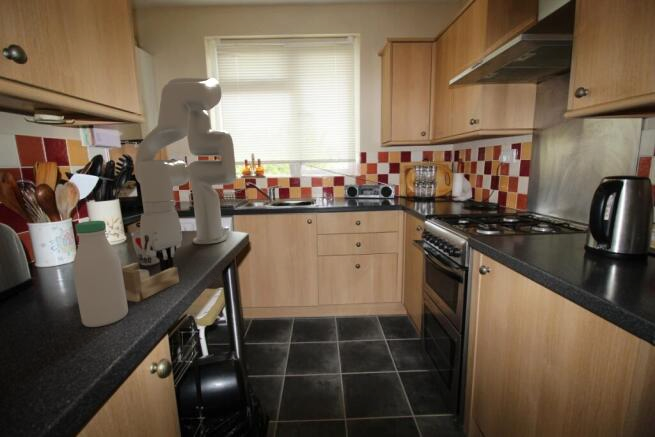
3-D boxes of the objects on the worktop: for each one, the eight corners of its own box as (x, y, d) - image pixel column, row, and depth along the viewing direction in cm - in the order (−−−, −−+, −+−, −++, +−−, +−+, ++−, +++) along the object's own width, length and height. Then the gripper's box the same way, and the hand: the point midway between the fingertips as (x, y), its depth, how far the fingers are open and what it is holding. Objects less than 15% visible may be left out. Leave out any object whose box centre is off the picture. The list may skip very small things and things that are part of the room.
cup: (130, 264, 97) (125, 233, 95) (154, 257, 104) (150, 228, 102) (146, 268, 93) (141, 236, 91) (170, 260, 100) (166, 230, 98)
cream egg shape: (135, 283, 82) (133, 268, 81) (157, 285, 80) (155, 270, 79) (111, 294, 75) (108, 278, 75) (134, 296, 73) (131, 280, 73)
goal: (136, 276, 87) (133, 252, 85) (179, 281, 82) (176, 256, 80) (91, 294, 75) (86, 266, 74) (137, 302, 70) (133, 272, 69)
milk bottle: (132, 317, 63) (118, 221, 59) (85, 333, 58) (66, 228, 54) (123, 305, 69) (110, 217, 65) (80, 318, 63) (62, 222, 60)
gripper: (170, 203, 92) (177, 262, 96) (123, 211, 78) (133, 279, 82) (190, 203, 90) (197, 264, 93) (145, 212, 76) (155, 283, 79)
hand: (167, 271), depth 87 cm, fingers closed
